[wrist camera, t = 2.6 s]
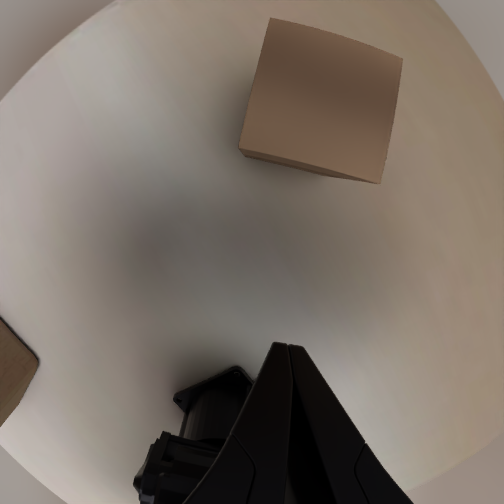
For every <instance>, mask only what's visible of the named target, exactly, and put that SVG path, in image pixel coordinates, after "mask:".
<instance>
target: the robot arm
mask: <svg viewBox="0 0 504 504" xmlns="http://www.w3.org/2000/svg"><path fill="white" fill-rule="evenodd" d="M234 372H238V373H239V374H234ZM178 398H180V399H182V400H180V399H178ZM173 401H174V402H175V403H176V404H177V405H178V406H179V407H180V408H181V409H182V410H183V411H184V412H185V414H184V418H183V422H182V426H181V430H180V433H179V436H175V435H171V433H169V432H165V431H162V434H161V436H160V439H158V438H157V440H156V442H155V443H154V444H151V446H150V449H149V452H148V455H147V458H146V460H145V462H144V464H143V466H142V467H141V469H140V470H139V472H138V473H137V475H136V476H135V478H134V482H133V486H134V487H135V489H136V490H137V492H138V493H139V501H140V504H414V503H413V502H412V501H411V500H410V499H409V498H408V496H407V495H406V494H405V493H404V492H403V491H402V489H401V488H400V487H399V486H398V485H397V484H396V482H395V481H394V480H393V479H392V478H391V476H390V475H389V474H388V473H387V471H386V470H385V469H384V468H383V466H382V465H381V463H380V462H379V460H378V459H377V458H376V456H375V455H374V453H373V452H372V450H371V449H370V447H369V446H368V444H367V443H365V440H364V438H363V437H362V435H361V434H360V432H359V431H358V429H357V428H356V426H355V425H354V423H353V422H352V420H351V419H350V417H349V416H348V414H347V413H346V411H345V410H344V408H343V407H342V405H341V404H340V402H339V400H338V399H337V397H336V396H335V394H334V393H333V391H332V390H331V388H330V387H329V385H328V384H327V382H326V381H325V379H324V378H323V376H322V374H321V373H320V371H319V370H318V368H317V367H316V365H315V364H314V362H313V361H312V359H311V358H310V356H309V355H308V353H307V351H306V350H305V348H304V347H303V346H299V345H292V344H289V345H287V344H286V343H280V342H273V343H272V345H271V347H270V350H269V352H268V354H267V356H266V358H265V361H264V363H263V365H262V367H261V369H260V372H259V374H258V376H257V378H256V380H255V382H253V381H252V380H251V379H250V378H249V376H248V375H247V374H246V373H245V372H244V370H243V369H242V368H241V367H238V366H235V367H232V368H230V369H228V370H226V371H224V372H222V373H219V374H217V375H215V376H213V377H211V378H209V379H207V380H205V381H202V382H200V383H198V384H196V385H194V386H192V387H189V388H187V389H185V390H183V391H180V392H178V393H176V394H175V395H174V398H173Z"/></svg>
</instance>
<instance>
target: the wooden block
mask: <svg viewBox="0 0 504 504" xmlns="http://www.w3.org/2000/svg"><path fill="white" fill-rule="evenodd" d="M37 365H38V361H37V359H36V358H35V356H34V355H33V354H32V353H31V352H30V351H29V350H28V349H27V348H26V347H25V346H24V345H23V344H22V343H21V342H20V341H19V340H18V338H17V337H16V336H15V335H14V334H13V333H12V332H11V331H10V330H9V329H8V328H7V326H6V325H5V324H4V323H3V322H2V321H1V320H0V427H1V426H2V424H3V423H4V422H5V421H6V419H7V418H8V417H9V416H10V414H11V413H12V412H13V411H14V409H15V408H16V407H17V406H18V405H19V403H20V401H21V399H22V397H23V395H24V393H25V391H26V389H27V387H28V385H29V383H30V381H31V380H32V378H33V376H34V374H35V372H36V370H37Z"/></svg>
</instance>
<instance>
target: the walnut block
mask: <svg viewBox="0 0 504 504" xmlns="http://www.w3.org/2000/svg"><path fill="white" fill-rule="evenodd" d="M402 62H403V59H402V58H400V57H398V56H395V55H393V54H390V53H388V52H386V51H383V50H380V49H378V48H375V47H373V46H370V45H367V44H364V43H362V42H359V41H356V40H353V39H350V38H347V37H344V36H341V35H337V34H334V33H331V32H327V31H324V30H320V29H317V28H313V27H309V26H305V25H301V24H297V23H293V22H289V21H284V20H279V19H275V18H270V20H269V23H268V27H267V31H266V35H265V39H264V42H263V46H262V50H261V54H260V58H259V62H258V66H257V70H256V74H255V78H254V82H253V86H252V90H251V94H250V98H249V103H248V107H247V111H246V115H245V119H244V124H243V128H242V132H241V137H240V141H239V146H238V148H239V149H240V151H241V152H242V153H243V154H244V156H245V157H248V158H253V159H257V160H262V161H266V162H271V163H275V164H279V165H284V166H288V167H292V168H296V169H300V170H304V171H308V172H312V173H316V174H319V175H323V176H329V177H336V178H343V179H350V180H356V181H362V182H369V183H375V184H380V182H381V178H382V174H383V170H384V165H385V161H386V156H387V151H388V146H389V141H390V136H391V131H392V126H393V121H394V115H395V109H396V103H397V97H398V91H399V84H400V77H401V70H402Z"/></svg>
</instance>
